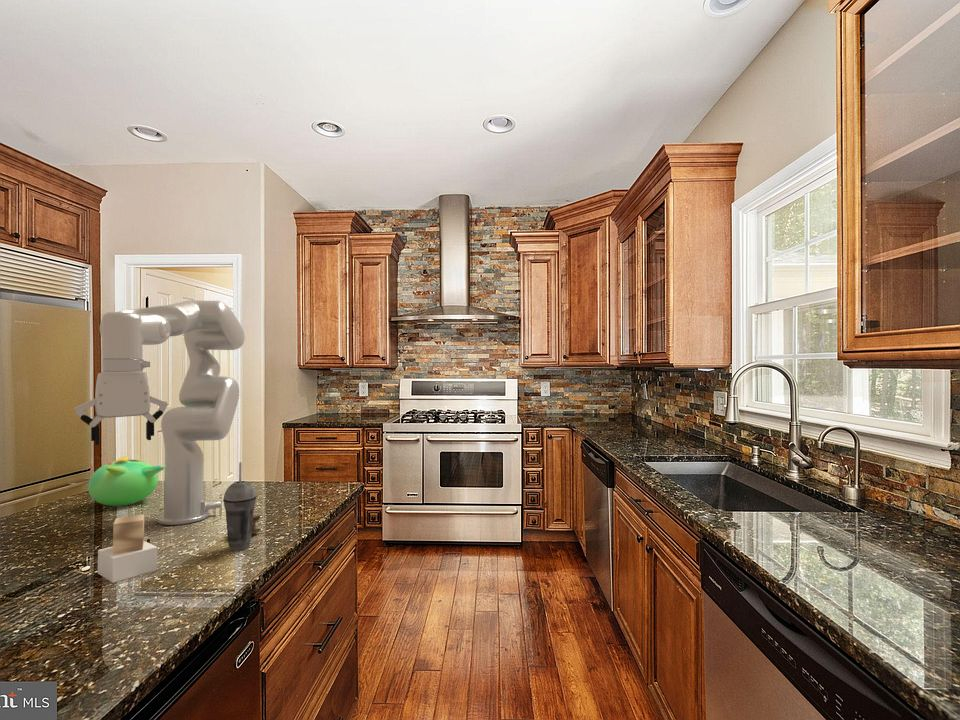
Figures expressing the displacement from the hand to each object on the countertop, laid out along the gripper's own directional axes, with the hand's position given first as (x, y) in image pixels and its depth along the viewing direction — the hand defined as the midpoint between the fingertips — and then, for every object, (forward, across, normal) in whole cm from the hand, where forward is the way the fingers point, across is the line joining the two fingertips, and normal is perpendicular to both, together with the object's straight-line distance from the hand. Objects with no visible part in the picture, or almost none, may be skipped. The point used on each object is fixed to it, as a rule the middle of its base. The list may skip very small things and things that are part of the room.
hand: (123, 441), depth 115 cm
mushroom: (+27, -25, +2) cm, 37 cm away
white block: (+26, 0, +13) cm, 29 cm away
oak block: (+20, 0, +13) cm, 24 cm away
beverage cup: (+26, -22, +11) cm, 36 cm away
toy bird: (+28, -3, -51) cm, 58 cm away
